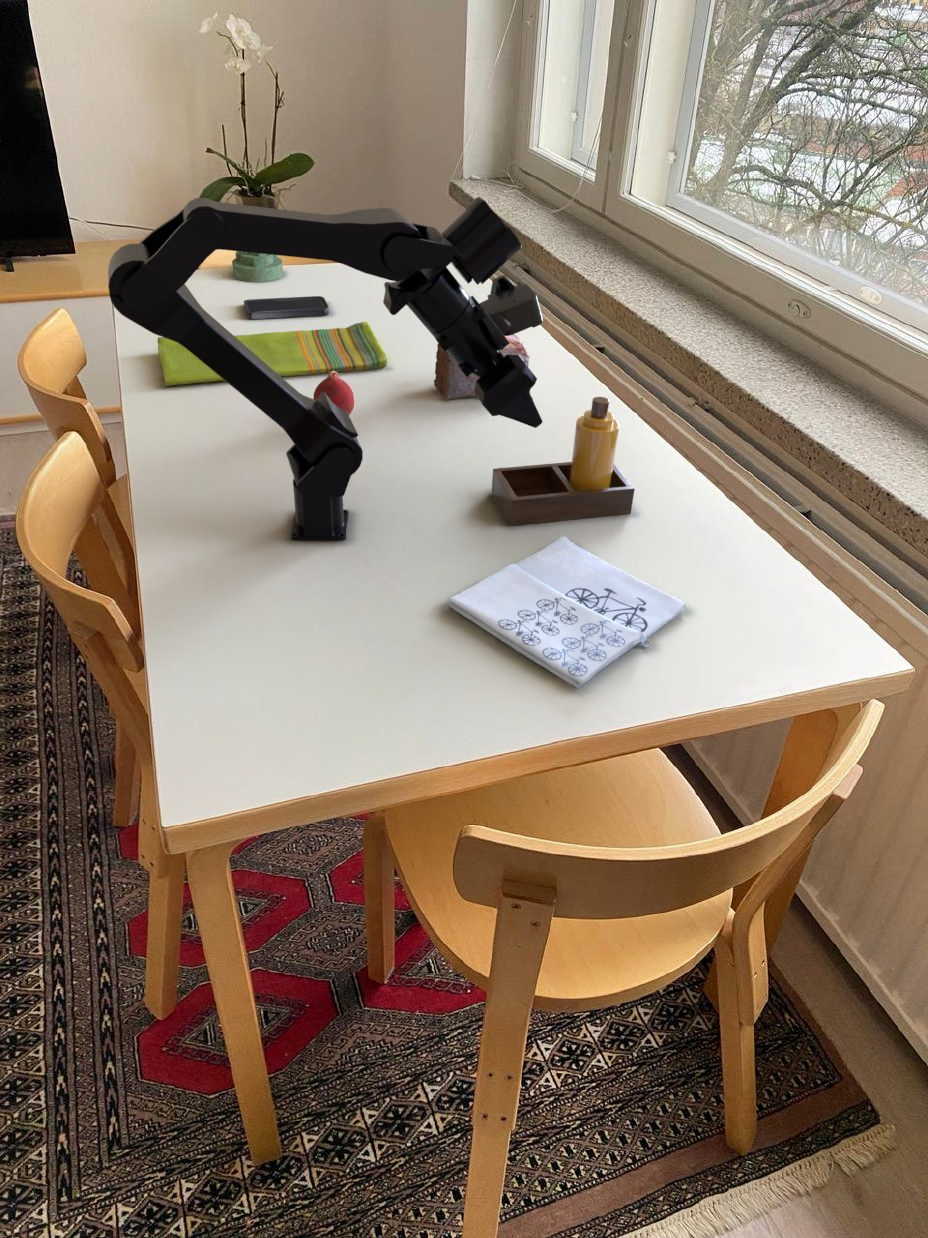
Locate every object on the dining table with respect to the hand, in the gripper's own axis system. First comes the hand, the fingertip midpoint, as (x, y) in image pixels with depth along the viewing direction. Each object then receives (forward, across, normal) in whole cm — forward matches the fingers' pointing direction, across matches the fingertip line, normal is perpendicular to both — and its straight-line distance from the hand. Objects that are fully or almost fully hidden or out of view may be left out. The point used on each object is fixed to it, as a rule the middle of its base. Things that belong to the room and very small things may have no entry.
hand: (526, 407), depth 111 cm
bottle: (+15, -1, +1) cm, 15 cm away
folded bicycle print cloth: (+9, -24, +9) cm, 27 cm away
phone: (-2, +78, +26) cm, 82 cm away
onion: (-2, +26, +24) cm, 35 cm away
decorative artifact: (-3, +101, +28) cm, 105 cm away
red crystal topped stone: (+14, +35, +5) cm, 38 cm away
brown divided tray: (+13, -1, +4) cm, 14 cm away
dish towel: (-5, +53, +29) cm, 60 cm away
